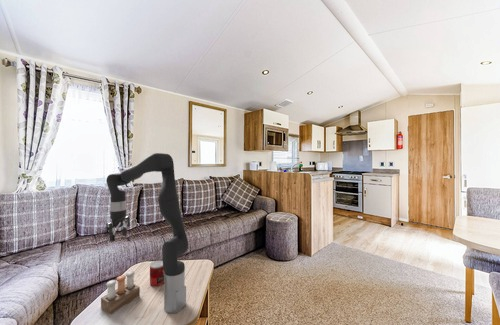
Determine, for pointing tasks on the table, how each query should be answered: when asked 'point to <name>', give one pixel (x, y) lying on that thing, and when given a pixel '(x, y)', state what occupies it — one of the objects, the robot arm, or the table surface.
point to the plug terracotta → (121, 284)
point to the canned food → (156, 273)
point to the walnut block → (120, 299)
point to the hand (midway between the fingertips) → (118, 238)
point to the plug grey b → (130, 279)
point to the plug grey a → (111, 289)
